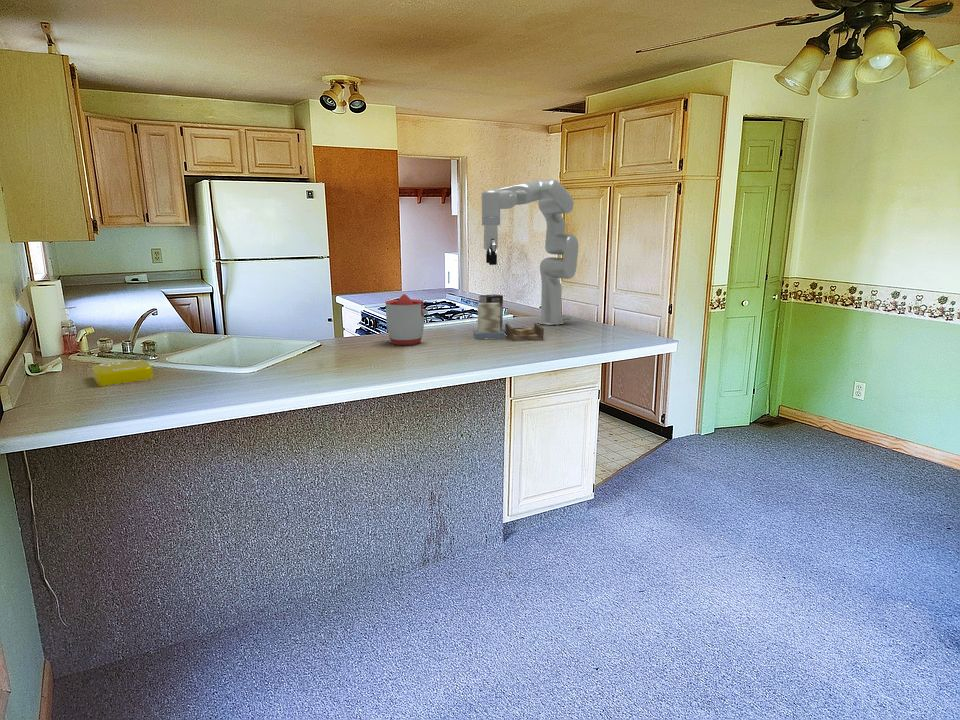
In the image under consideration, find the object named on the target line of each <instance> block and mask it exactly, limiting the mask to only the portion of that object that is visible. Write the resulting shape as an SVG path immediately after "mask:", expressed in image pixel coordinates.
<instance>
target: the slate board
mask: <svg viewBox="0 0 960 720" xmlns="http://www.w3.org/2000/svg"><path fill="white" fill-rule="evenodd" d="M504 336H505V333H504V331H503V329H502V330H500V332H493V333H479V332H478V329H476V330H475V329H474V330H473V337H475V338H474V339H478V340H486V339H485V338H504V339H505V337H504Z"/></svg>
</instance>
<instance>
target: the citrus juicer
mask: <svg viewBox="0 0 960 720" xmlns="http://www.w3.org/2000/svg"><path fill="white" fill-rule="evenodd" d="M384 303H385V316H386V318H385V320H386V329H387V330H386V331H387V333H388V336H389V337H388V338H389V340H390V342H391V344H393V345H395V344H396V345H395V346H399V345H401V346H402V345H403V346H415V345H416V344H419V343H421V341H422V338H423V334H424V328H425V327H424V326H425V317H424V316H425V315H426V316H429V315H430V314H429V311H428V309H425V307H424V305H425V303H424V300H420V299H411V298H410V297H409V296H408V294H405V293H403V294H402V295H401V296H400V297H399V299H391V300H386V301H385V302H384Z"/></svg>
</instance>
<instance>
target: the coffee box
mask: <svg viewBox="0 0 960 720" xmlns="http://www.w3.org/2000/svg"><path fill="white" fill-rule="evenodd" d="M478 298H479V300H478V301H479V302H478V303H499V304H500V330H502V331H503V325H504V324H503V319H504V316H503V315H504V314H503V313H504V312H503V311H504V307H503V306H504V295H503V294H502V295H501V294H494V293H493V294H482V295H479V296H478Z"/></svg>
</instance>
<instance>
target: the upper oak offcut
mask: <svg viewBox="0 0 960 720" xmlns="http://www.w3.org/2000/svg"><path fill="white" fill-rule="evenodd" d="M522 328H523V329H516V330H514V335H517V336H525V335H533V334H535V329H533V328H530V327H522Z"/></svg>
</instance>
